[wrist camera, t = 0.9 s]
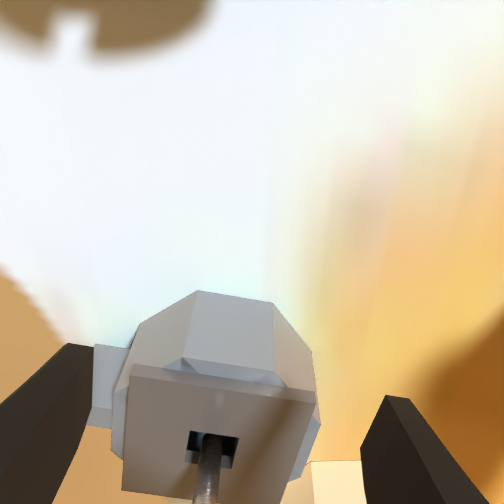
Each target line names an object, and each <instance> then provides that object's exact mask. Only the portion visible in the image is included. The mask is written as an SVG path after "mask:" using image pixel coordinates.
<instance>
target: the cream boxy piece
mask: <svg viewBox="0 0 504 504" xmlns="http://www.w3.org/2000/svg"><path fill="white" fill-rule="evenodd" d="M280 504H367V502H366V497H365V492H364V485H363V476H362V465H361V460H357V461H321V462H310V463H308V464H307V465H305V467H304V470H303V472H302V475H301V477H300V478H298V479H295V480H293V481H290V482H288V483H287V486H286V489H285V491H284V494H283V497H282V500H281V502H280Z"/></svg>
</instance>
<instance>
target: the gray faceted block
mask: <svg viewBox="0 0 504 504" xmlns="http://www.w3.org/2000/svg"><path fill="white" fill-rule="evenodd" d="M86 425H89V426H96V427H104V428H110V429H112V435H111V451H112V452H113V453H114V454H116V455H117V456H118V457H119V458H121V459H122V460H123V475H122V488H121V490H123V491H130V492H137V493H145V494H152V495H159V496H167V497H174V498H182V499H189V500H193V496H194V489H195V482H196V475H197V468H198V461H199V454H200V447H201V440H202V437H203V435H205V434H207V433H210V434H217V435H220V436H222V438H223V448H222V459H221V469H220V480H219V491H218V501H217V503H218V504H280V502H281V500H282V497H283V494H284V491H285V489H286V486H287V483H288V482H290V481H293V480H295V479H298V478H300V477H301V475H302V472H303V470H304V467H305V465H306V462H307V459H308V457H309V454H310V451H311V449H312V446H313V444H314V441H315V438H316V436H317V433H318V431H319V428H320V425H321V421H320V414H319V406H318V398H317V391H316V383H315V375H314V368H313V360H312V352H311V350H310V349H309V348H308V347H307V345H306V344H305V343H304V342H303V340H302V339H301V338H300V337H299V335H298V334H297V333H296V332H295V330H294V329H293V328H292V327H291V325H290V324H289V323H288V322H287V320H286V319H285V318H284V317H283V315H282V314H281V313H280V312H279V310H278V309H277V308H276V307H275V305H274V304H273V303H270V302H264V301H258V300H252V299H246V298H240V297H234V296H228V295H222V294H216V293H210V292H204V291H198V290H197V291H196V292H194V293H192V294H190V295H189V296H187V297H185V298H184V299H182V300H180V301H178V302H177V303H175V304H173V305H171V306H170V307H168V308H166V309H165V310H163V311H161V312H159V313H158V314H156V315H154V316H153V317H151V318H149V319H147V320H146V321H144V322H142V323H140V325H139V328H138V330H137V333H136V336H135V338H134V341H133V343H132V346H131V349H125V348H119V347H113V346H106V345H100V344H95V347H94V361H93V391H92V408H91V411H90V414H89V417H88V420H87V423H86Z"/></svg>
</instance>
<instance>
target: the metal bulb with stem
mask: <svg viewBox="0 0 504 504" xmlns="http://www.w3.org/2000/svg"><path fill="white" fill-rule="evenodd" d="M222 448H223V438H222V436H220V435H217V434H210V433H207V434H205V435H203V437H202V440H201V447H200V454H199V461H198V468H197V475H196V482H195V489H194V496H193V503H192V504H217V501H218V491H219V480H220V469H221V459H222Z"/></svg>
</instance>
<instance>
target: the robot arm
mask: <svg viewBox="0 0 504 504" xmlns="http://www.w3.org/2000/svg"><path fill="white" fill-rule="evenodd" d="M93 361H94V347H89V346H83V345H77V344H71V343H67V344H66V345H64V346H63V347H62V348H61V349H60V350H59V351H58V352H57V353H56V354H55V355H53V356H52V357H51V358H50V359H49V360H48V362H46V363H45V364H44V365H43V366H42V367H41V368H40V369H39V370H38V371H37V372H36V373H35V374H33V375H32V376H31V377H30V378H29V379H28V380H27V381H26V382H25V383H24V384H23V385H21V386H20V387H19V388H18V389H17V390H16V391H15V392H13V393H12V394H11V395H10V396H9V397H8V398H6V399H5V400H4V401H3V402H2V403H1V404H0V504H52V502H53V500H54V498H55V496H56V493H57V491H58V489H59V487H60V485H61V483H62V481H63V479H64V477H65V475H66V472H67V470H68V468H69V466H70V464H71V461H72V460H73V457H74V455H75V453H76V451H77V449H78V446H79V443H80V440H81V437H82V434H83V432H84V429H85V426H86V423H87V420H88V417H89V414H90V411H91V408H92V391H93ZM360 453H361V465H362V476H363V485H364V492H365V497H366V502H367V504H489V502H488V501H487V500H486V499H485V498H484V496H483V495H482V494H481V493H480V491H479V490H478V489H477V488H476V486H475V485H474V484H473V483H472V481H471V480H470V479H469V478H468V476H467V475H466V474H465V472H464V471H463V470H462V469H461V467H460V466H459V465H458V463H457V462H456V461H455V459H454V458H453V457H452V455H451V454H450V453H449V452H448V450H447V449H446V447H445V446H444V445H443V443H442V442H441V441H440V439H439V438H438V437H437V435H436V434H435V433H434V431H433V430H432V429H431V427H430V426H429V425H428V423H427V422H426V420H425V419H424V418H423V416H422V415H421V414H420V412H419V411H418V410H417V408H416V407H415V406H414V404H413V403H412V402H411V400H410V399H408V398H402V397H396V396H390V395H385V397H384V399H383V401H382V403H381V406H380V408H379V410H378V412H377V414H376V416H375V418H374V420H373V422H372V424H371V426H370V429H369V431H368V433H367V435H366V437H365V439H364V441H363V443H362V445H361V447H360Z"/></svg>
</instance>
